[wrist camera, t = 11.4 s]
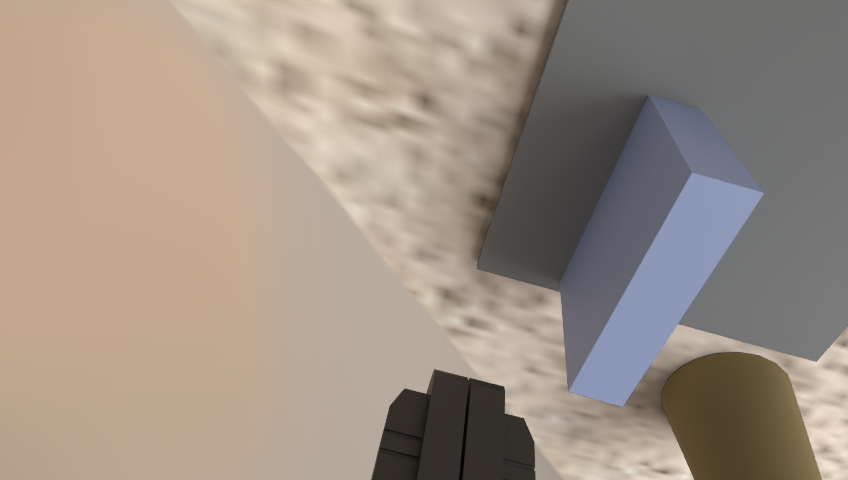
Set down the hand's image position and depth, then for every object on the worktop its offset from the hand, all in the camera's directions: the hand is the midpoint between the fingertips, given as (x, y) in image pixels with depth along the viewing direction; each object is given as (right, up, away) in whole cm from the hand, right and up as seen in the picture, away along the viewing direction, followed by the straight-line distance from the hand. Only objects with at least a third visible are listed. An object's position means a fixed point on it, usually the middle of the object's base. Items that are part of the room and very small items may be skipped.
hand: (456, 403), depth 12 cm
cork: (+14, -4, +16) cm, 22 cm away
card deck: (+7, +5, +11) cm, 14 cm away
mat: (+11, +6, +10) cm, 16 cm away
